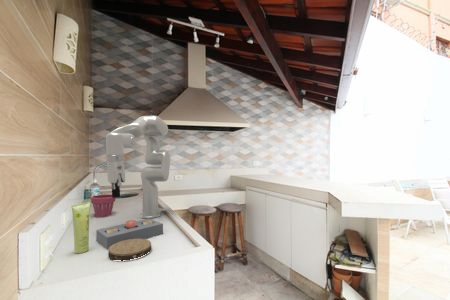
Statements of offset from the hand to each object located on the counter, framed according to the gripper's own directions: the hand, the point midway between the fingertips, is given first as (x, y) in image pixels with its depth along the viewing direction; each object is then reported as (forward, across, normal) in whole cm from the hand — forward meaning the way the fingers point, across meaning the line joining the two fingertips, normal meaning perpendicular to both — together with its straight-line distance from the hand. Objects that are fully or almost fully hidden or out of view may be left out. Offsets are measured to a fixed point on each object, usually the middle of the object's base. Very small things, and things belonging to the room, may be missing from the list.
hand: (116, 197), depth 111 cm
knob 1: (+18, -5, +4) cm, 19 cm away
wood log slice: (+19, -23, +3) cm, 30 cm away
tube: (+19, -6, +17) cm, 26 cm away
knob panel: (+19, -6, -4) cm, 20 cm away
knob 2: (+18, -6, -13) cm, 23 cm away
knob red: (+16, -6, -4) cm, 18 cm away
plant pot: (+21, +48, -10) cm, 53 cm away
